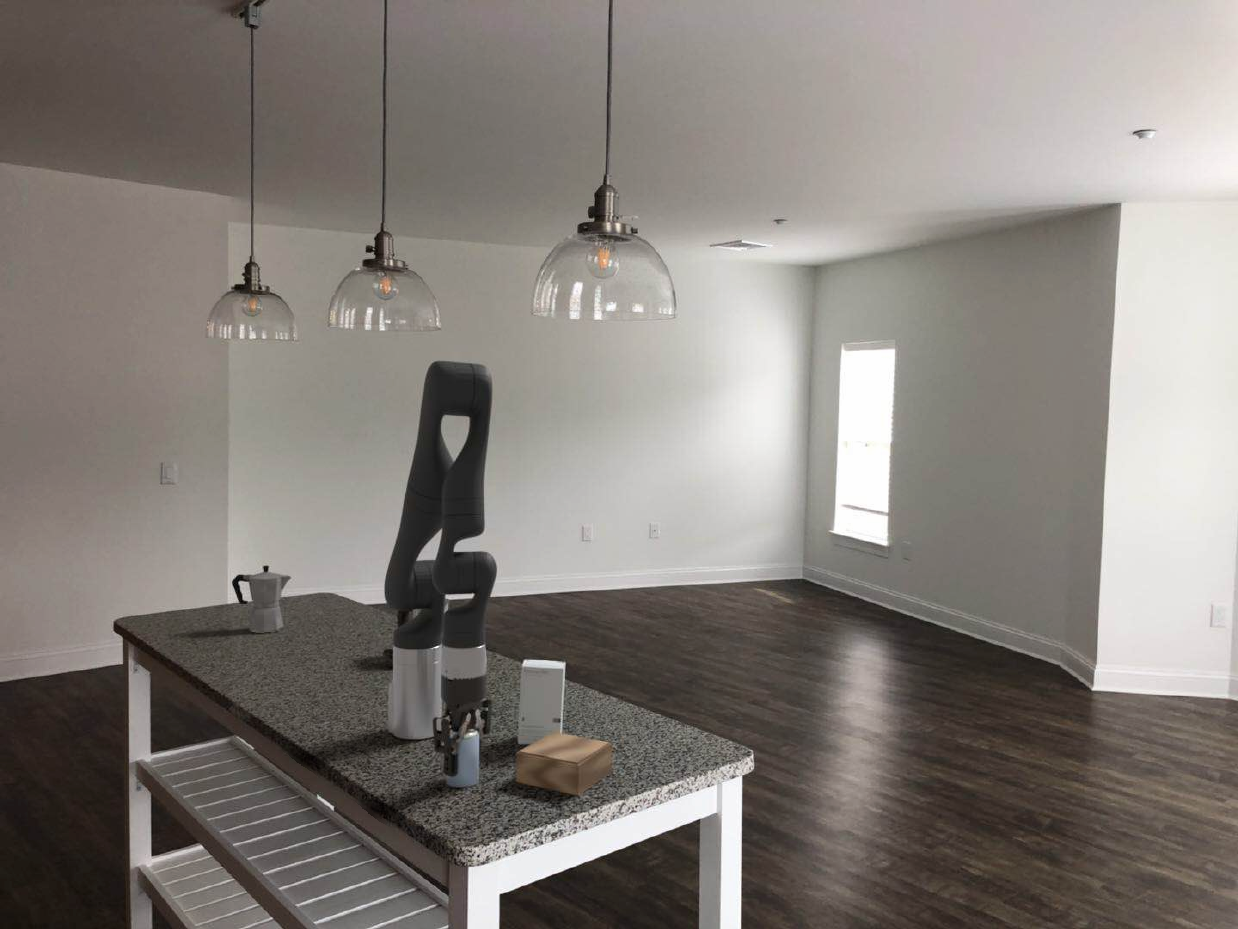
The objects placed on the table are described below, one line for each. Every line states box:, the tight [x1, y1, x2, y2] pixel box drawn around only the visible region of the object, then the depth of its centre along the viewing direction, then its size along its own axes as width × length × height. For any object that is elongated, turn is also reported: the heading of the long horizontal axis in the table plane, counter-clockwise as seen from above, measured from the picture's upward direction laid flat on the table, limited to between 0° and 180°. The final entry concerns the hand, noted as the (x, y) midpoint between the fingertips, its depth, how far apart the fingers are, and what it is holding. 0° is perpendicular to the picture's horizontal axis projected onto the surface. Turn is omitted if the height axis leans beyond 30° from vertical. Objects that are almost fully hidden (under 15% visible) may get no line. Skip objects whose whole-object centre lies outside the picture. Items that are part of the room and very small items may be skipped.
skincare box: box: [517, 659, 566, 745], centre depth 186 cm, size 8×6×15 cm
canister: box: [445, 729, 480, 788], centre depth 165 cm, size 5×5×8 cm
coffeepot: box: [231, 565, 292, 631], centre depth 271 cm, size 15×9×18 cm, turn 103°
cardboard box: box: [515, 732, 613, 796], centre depth 168 cm, size 12×12×5 cm
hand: (462, 768), depth 165 cm, fingers open, 6 cm apart
